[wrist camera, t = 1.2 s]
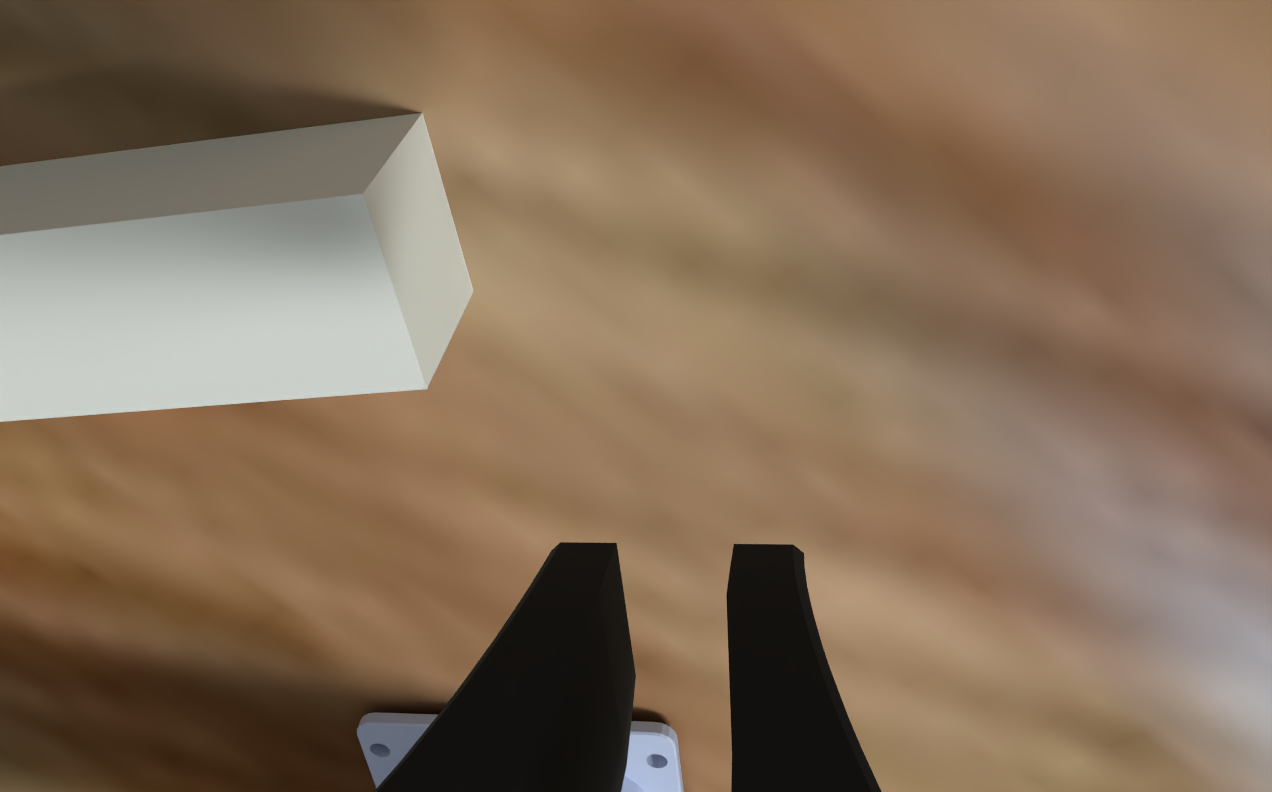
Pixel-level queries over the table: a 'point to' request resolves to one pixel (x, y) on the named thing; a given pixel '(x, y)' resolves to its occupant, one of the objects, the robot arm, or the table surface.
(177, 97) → the table surface
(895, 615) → the table surface
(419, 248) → the gray rectangular block
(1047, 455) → the table surface
